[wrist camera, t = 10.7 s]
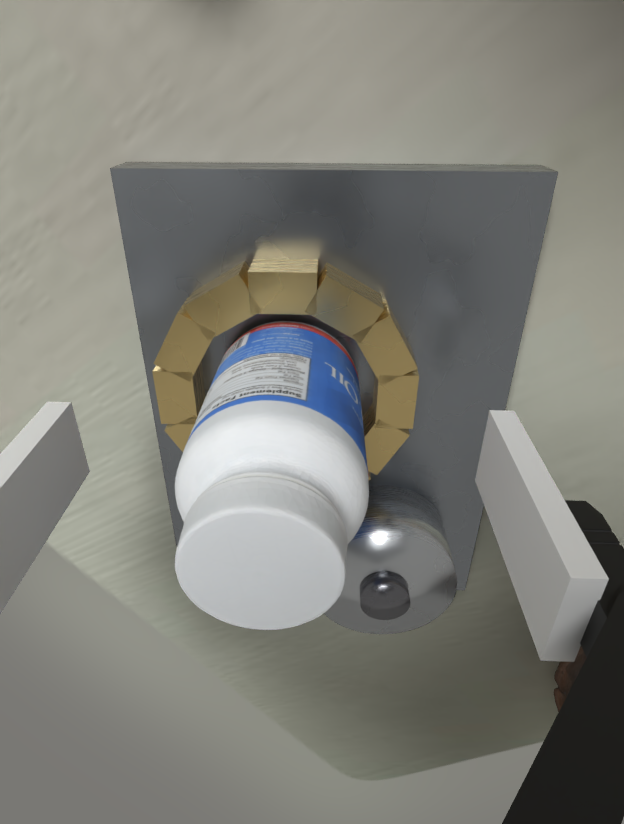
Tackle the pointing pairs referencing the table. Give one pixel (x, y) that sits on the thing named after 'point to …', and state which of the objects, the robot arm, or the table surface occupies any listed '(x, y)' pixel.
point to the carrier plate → (384, 242)
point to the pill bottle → (273, 480)
